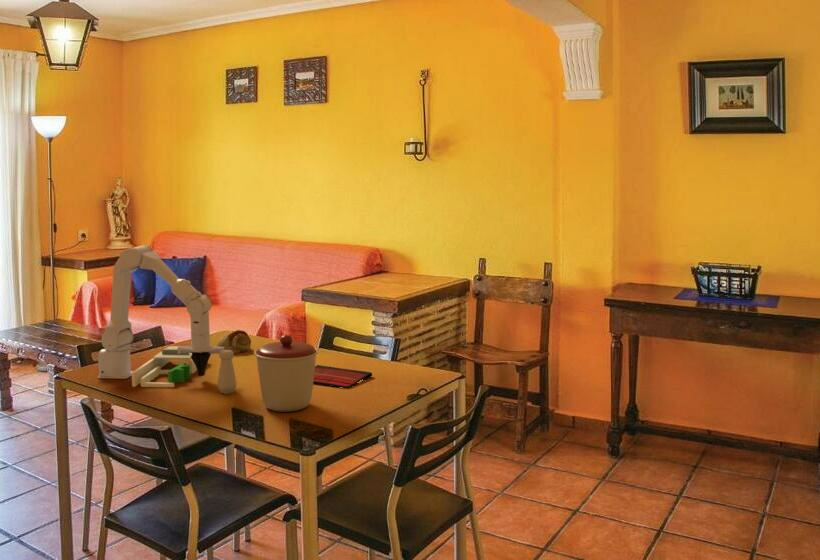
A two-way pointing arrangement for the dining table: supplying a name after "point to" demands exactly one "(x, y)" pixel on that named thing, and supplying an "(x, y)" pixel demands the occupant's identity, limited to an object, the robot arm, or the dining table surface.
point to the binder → (338, 376)
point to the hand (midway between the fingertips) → (201, 375)
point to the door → (172, 354)
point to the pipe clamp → (179, 373)
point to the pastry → (235, 341)
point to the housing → (154, 373)
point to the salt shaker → (226, 373)
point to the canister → (286, 374)
